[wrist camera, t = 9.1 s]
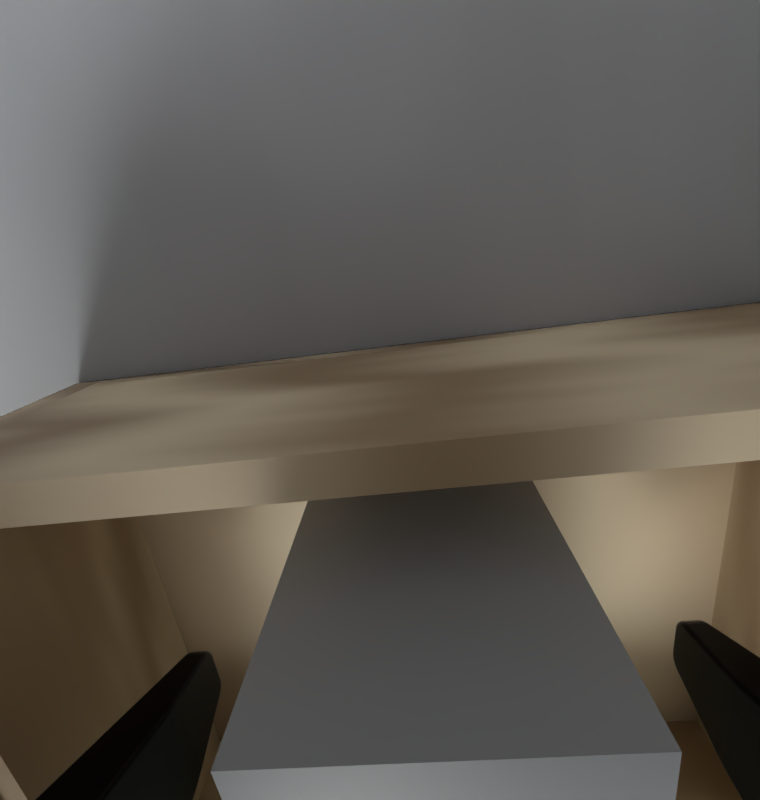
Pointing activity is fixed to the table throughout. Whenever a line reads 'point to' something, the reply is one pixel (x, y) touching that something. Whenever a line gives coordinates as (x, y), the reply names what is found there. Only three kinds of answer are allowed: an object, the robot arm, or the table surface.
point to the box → (441, 663)
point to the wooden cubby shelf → (361, 476)
